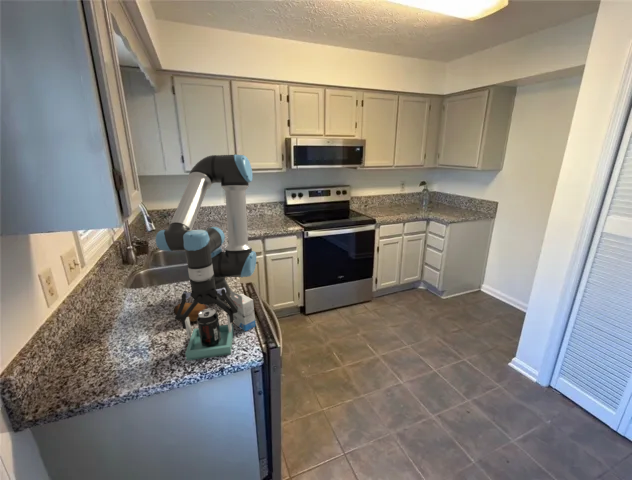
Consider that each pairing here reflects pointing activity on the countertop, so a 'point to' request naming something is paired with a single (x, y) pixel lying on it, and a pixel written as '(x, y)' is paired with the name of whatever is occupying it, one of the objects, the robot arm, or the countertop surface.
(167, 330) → the countertop surface
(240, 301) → the ink box
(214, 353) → the collection tray
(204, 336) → the beverage can
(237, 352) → the countertop surface
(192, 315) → the potato
